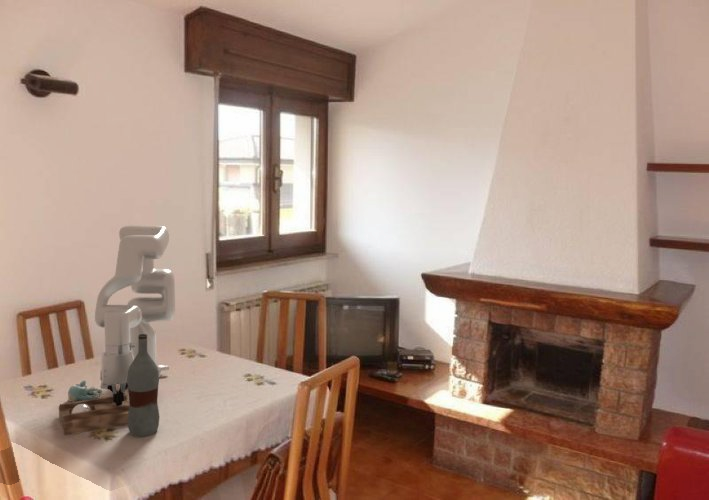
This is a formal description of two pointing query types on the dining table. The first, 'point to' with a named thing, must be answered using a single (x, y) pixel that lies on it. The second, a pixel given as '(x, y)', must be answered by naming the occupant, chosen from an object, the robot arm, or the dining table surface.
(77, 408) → the steel ball
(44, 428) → the dining table surface
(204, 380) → the dining table surface
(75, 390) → the stuffed animal
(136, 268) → the robot arm
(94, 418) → the wooden box
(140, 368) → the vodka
